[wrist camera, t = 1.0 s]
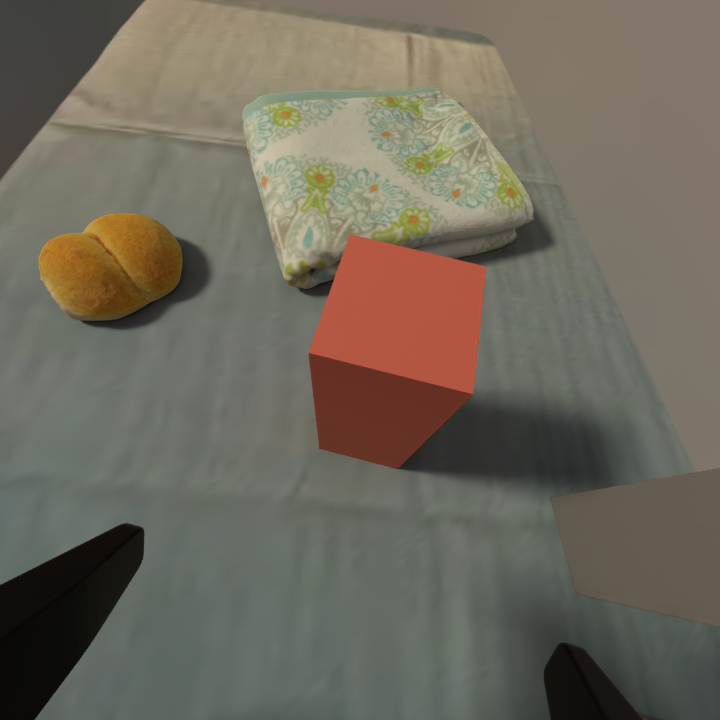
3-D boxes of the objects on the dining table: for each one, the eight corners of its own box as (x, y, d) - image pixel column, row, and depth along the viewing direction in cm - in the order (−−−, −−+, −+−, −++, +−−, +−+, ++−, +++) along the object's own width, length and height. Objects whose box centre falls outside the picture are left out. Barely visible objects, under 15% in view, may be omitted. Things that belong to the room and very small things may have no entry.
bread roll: (207, 278, 28) (189, 240, 24) (92, 345, 24) (51, 312, 21) (151, 217, 30) (127, 174, 26) (39, 271, 27) (-6, 230, 23)
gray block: (658, 586, 20) (1100, 653, 9) (576, 593, 20) (926, 674, 8) (625, 493, 23) (941, 447, 11) (550, 497, 22) (797, 454, 10)
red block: (397, 468, 22) (473, 393, 10) (319, 448, 22) (308, 352, 11) (411, 395, 24) (486, 266, 13) (340, 377, 24) (350, 233, 13)
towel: (524, 249, 32) (556, 201, 27) (287, 299, 28) (278, 252, 23) (443, 125, 39) (458, 71, 34) (245, 150, 35) (232, 92, 30)
